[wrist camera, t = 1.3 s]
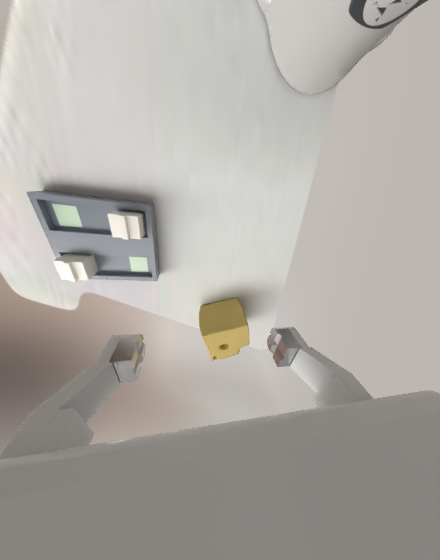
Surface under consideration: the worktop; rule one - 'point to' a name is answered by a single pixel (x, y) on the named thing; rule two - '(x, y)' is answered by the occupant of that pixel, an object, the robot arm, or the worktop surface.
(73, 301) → the worktop surface
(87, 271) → the tab far
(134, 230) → the tab near
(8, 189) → the worktop surface
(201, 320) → the cheese
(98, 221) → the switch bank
